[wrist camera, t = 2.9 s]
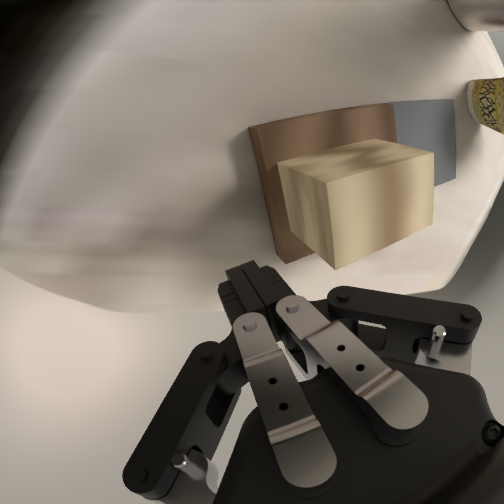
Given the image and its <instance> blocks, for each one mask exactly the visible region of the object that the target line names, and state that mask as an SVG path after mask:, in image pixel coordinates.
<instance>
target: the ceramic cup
mask: <svg viewBox="0 0 504 504" xmlns="http://www.w3.org/2000/svg"><path fill="white" fill-rule="evenodd" d="M466 95H467V102H468V110H469V112H470V113H471V115H472V117H473V118H474V120H475V121H476V122H478V123H480V124H482V125H485V126H487V127H489V128H491V129H493V130H495V131H498V132H500V133H502V134H504V77H503V78H495V79H480V80H471V81H469V84H468V88H467V92H466Z"/></svg>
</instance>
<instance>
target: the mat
mask: <svg viewBox="0 0 504 504" xmlns="http://www.w3.org/2000/svg"><path fill="white" fill-rule="evenodd" d="M383 104H390V105H393V107H394V115H395V124H396V134H397V144H402V145H406V146H410V147H414V148H418V149H422V150H426V151H429V152H433V153H434V186H437V185H439V184H442V183H444V182H447V181H450V180H452V179H455V178H456V135H455V117H454V105H453V100H424V101H407V102H394V103H383Z"/></svg>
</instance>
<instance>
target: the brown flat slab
mask: <svg viewBox="0 0 504 504" xmlns="http://www.w3.org/2000/svg"><path fill="white" fill-rule="evenodd" d="M248 129H249V134H250V138H251V142H252V146H253V150H254V154H255V159H256V163H257V167H258V172H259V176H260V180H261V185H262V189H263V193H264V198H265V202H266V207H267V211H268V216H269V220H270V225H271V229H272V234H273V238H274V243H275V248H276V252H277V255H278V256H279V257H280V258H281V260H282V261H283V262H284V263H285V264H287V263H290V262H292V261H295V260H297V259H300V258H302V257H305V256H307V255H310V254H312V253H315V252H314V251H313V250H312V249H311V248H310V247H308V246H307V245H306V244H305V243H304V242H303V241H302V240H300V239H299V238H298V237H297V236H296V235H295V234H293V233H292V232H291V231H290V226H289V221H288V215H287V210H286V205H285V200H284V194H283V189H282V184H281V180H280V175H279V170H278V165H277V163H278V162H282V161H285V160H289V159H292V158H296V157H300V156H304V155H308V154H311V153H315V152H319V151H323V150H327V149H331V148H336V147H340V146H344V145H348V144H353V143H357V142H362V141H367V140H371V139H379V140H383V141H388V142H393V143H397V134H396V124H395V115H394V107H393V105H390V104H373V105H365V106H357V107H349V108H342V109H336V110H330V111H324V112H318V113H312V114H307V115H302V116H297V117H292V118H287V119H282V120H278V121H273V122H269V123H265V124H260V125H256V126H252V127H248Z"/></svg>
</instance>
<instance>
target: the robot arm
mask: <svg viewBox="0 0 504 504" xmlns="http://www.w3.org/2000/svg"><path fill="white" fill-rule="evenodd" d="M447 1H448V3H449V6H450V8H451V10H452V12H453V13H454V15H455V17H456V18H457V20H458V21H459V22H460V24H461V25H462V26H463V27H464V28H466V29H467V30H469V31H494V32H495V31H496V32H504V0H447ZM225 272H226V276H227V279H228V281H225V282H223V283H220V284H219V287H218V294H219V296H220V299H221V302H222V304H223V307H224V309H225V312H226V314H227V317H228V319H229V321H230V324H231V326H232V330H231V333H230V334H229V336H228V337H227V338H226V339H225V340H223V341H222V342H220V343H217V342H214V341H207V342H203V343H201V344H199V345H197V346H196V347H195V348H194V349H193V350H192V352H191V354H190V356H189V357H188V359H187V360H186V362H185V364H184V366H183V367H182V369H181V371H180V372H179V374H178V376H177V378H176V379H175V381H174V383H173V385H172V386H171V388H170V390H169V391H168V393H167V395H166V397H165V398H164V400H163V402H162V403H161V405H160V407H159V409H158V410H157V412H156V414H155V416H154V417H153V419H152V421H151V423H150V424H149V426H148V428H147V429H146V431H145V433H144V435H143V436H142V438H141V440H140V442H139V443H138V445H137V447H136V448H135V450H134V452H133V454H132V455H131V457H130V459H129V461H128V462H127V464H126V466H125V468H124V470H123V474H122V476H123V482H124V484H125V486H126V487H127V488H128V489H129V490H130V491H132V492H134V493H137V494H139V495H141V496H143V497H144V498H146V499H148V500H151V501H153V502H156V503H159V504H504V426H503V425H501V424H499V423H498V422H497V421H496V420H495V418H494V416H493V414H492V412H491V410H490V408H489V405H488V402H487V398H486V394H485V391H484V389H483V387H482V386H481V384H480V383H479V382H478V381H477V380H475V378H473V377H471V376H470V367H471V353H472V343H473V340H474V338H475V336H476V334H477V331H478V329H479V326H480V324H481V321H482V317H481V314H480V312H479V311H478V310H477V309H476V308H475V307H473V306H471V305H467V304H460V303H453V302H446V301H439V300H433V299H426V298H419V297H412V296H406V295H400V294H394V293H387V292H381V291H375V290H369V289H363V288H357V287H350V286H339V287H335V288H333V289H332V290H331V291H330V292H329V293H328V295H327V299H323V300H318V301H308V300H307V299H305V298H304V297H302V296H298V295H296V294H295V293H294V292H293V291H292V289H291V288H290V287H289V286H288V284H287V283H286V282H285V281H284V280H283V278H282V277H281V276H280V275H279V274H278V272H277V271H276V270H275V269H274V268H271V267H269V266H264V267H261V268H259V267H258V265H257V264H256V263H255V261H254V260H252V261H250V262H247V263H244V264H242V265H240V266H237V267H234V268H231V269H229V270H226V271H225ZM359 320H360V321H365V322H370V323H375V324H381V325H383V326H385V327H386V328H387V329H384V328H379V327H373V326H368V325H363V324H359ZM281 340H282V342H283V344H284V346H285V350H286V353H287V354H288V356H289V357H290V358H291V359H292V361H293V362H294V364H295V365H296V366H297V367H298V369H299V370H300V371H301V373H302V374H303V375H304V376H305V378H306V379H307V381H303V382H298V381H297V379H296V377H295V375H294V373H293V371H292V369H291V367H290V365H289V363H288V360H287V358H286V356H285V354H284V352H283V350H282V349H279V347H278V344H277V342H278V341H281ZM248 382H250V385H251V388H252V391H253V393H254V396H255V399H256V402H257V405H258V406H257V407H256V408H255V409H254V410H253V411H252V412H251V413H250V414H249V415H248V417H247V418H246V419H245V421H244V423H243V425H242V428H241V430H240V433H239V436H238V439H237V442H236V444H235V447H234V449H233V452H232V455H231V457H230V460H229V463H228V466H227V468H226V471H225V473H224V476H223V478H222V481H221V483H220V486H219V488H218V490H217V479H218V470H217V467H216V466H215V465H214V463H212V462H211V460H212V457H213V455H214V453H215V451H216V449H217V446H218V444H219V442H220V439H221V437H222V435H223V433H224V431H225V428H226V426H227V424H228V422H229V419H230V417H231V415H232V412H233V410H234V407H235V405H236V403H237V400H238V398H239V396H240V393H241V387H243V386H244V385H245V384H246V383H248Z"/></svg>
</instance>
